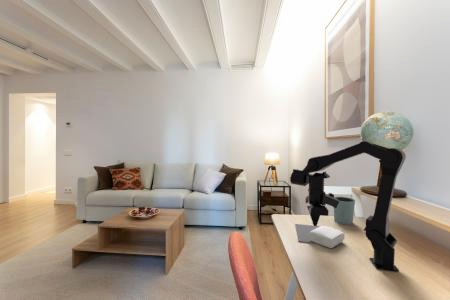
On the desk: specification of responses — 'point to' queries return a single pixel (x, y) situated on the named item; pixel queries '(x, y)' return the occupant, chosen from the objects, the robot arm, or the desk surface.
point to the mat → (304, 232)
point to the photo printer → (326, 236)
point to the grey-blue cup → (344, 210)
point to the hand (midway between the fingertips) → (315, 225)
